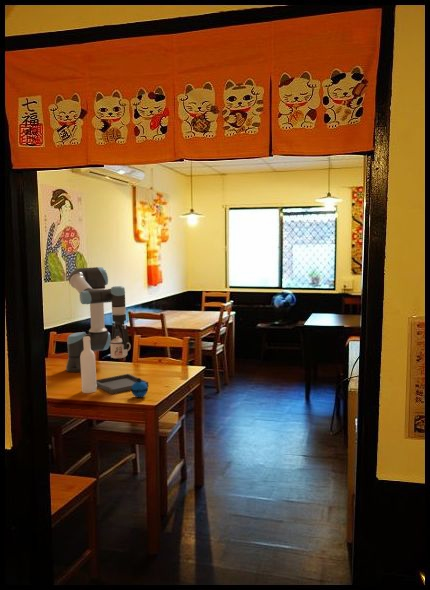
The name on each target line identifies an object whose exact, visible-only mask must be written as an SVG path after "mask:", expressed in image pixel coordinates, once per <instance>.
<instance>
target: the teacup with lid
mask: <svg viewBox="0 0 430 590" xmlns="http://www.w3.org/2000/svg"><path fill="white" fill-rule="evenodd" d="M122 343H123V342H122V338H121V335H119V336H116V338H115V339H113V340H112V339H111V341H110V346H109V348H110V358H111V359H112V358H113V359H122V358H125V357H127V356H128V354H127V355H124V356H123V355H122ZM127 345H128V347H127V352H129V351H130V350H131V347H132V345H131V342H129V343H127Z"/></svg>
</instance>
